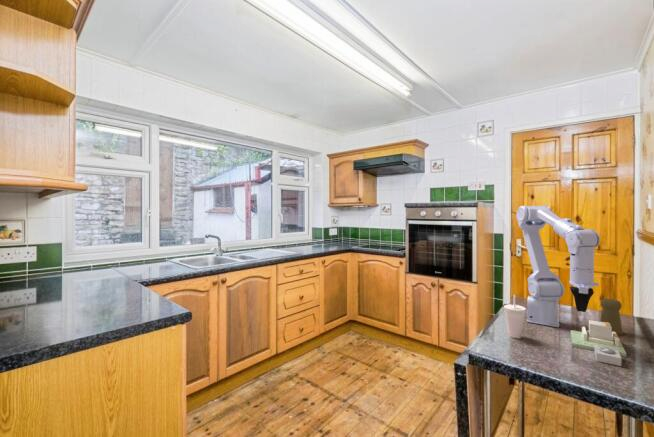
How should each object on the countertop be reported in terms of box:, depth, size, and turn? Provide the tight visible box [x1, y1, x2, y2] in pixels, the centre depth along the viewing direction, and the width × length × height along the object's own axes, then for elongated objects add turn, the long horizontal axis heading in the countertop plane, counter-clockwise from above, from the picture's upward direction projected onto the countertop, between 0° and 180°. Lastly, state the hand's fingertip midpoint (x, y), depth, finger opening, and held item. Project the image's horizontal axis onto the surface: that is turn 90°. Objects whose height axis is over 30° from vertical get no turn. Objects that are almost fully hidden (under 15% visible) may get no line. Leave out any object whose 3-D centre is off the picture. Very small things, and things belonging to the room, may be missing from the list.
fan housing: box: [593, 345, 622, 367], centre depth 86 cm, size 5×6×3 cm
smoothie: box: [503, 294, 527, 339], centre depth 102 cm, size 6×6×14 cm
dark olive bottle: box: [599, 298, 624, 336], centre depth 104 cm, size 6×6×11 cm
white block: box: [588, 319, 612, 341], centre depth 96 cm, size 5×4×5 cm
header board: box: [569, 326, 627, 358], centre depth 95 cm, size 12×12×3 cm
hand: (581, 311), depth 96 cm, fingers closed
